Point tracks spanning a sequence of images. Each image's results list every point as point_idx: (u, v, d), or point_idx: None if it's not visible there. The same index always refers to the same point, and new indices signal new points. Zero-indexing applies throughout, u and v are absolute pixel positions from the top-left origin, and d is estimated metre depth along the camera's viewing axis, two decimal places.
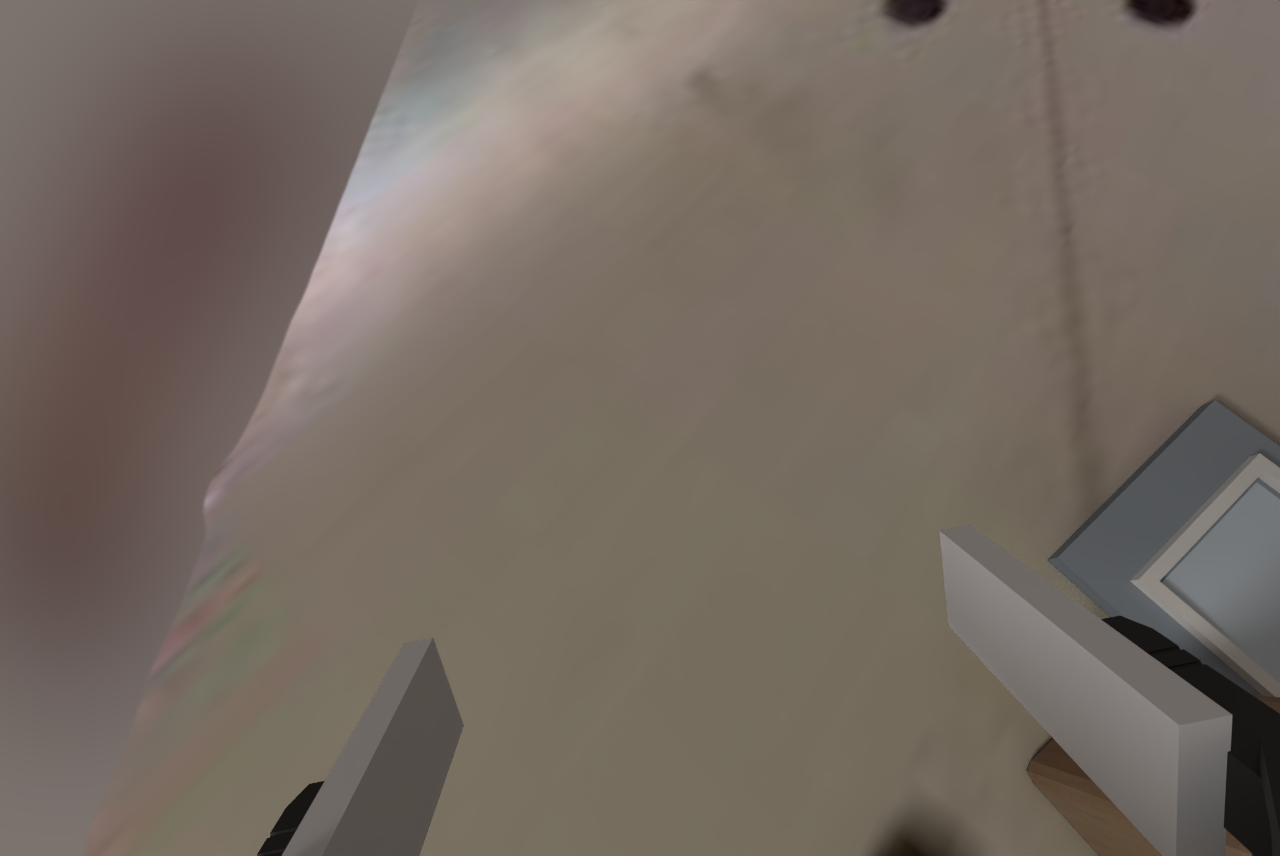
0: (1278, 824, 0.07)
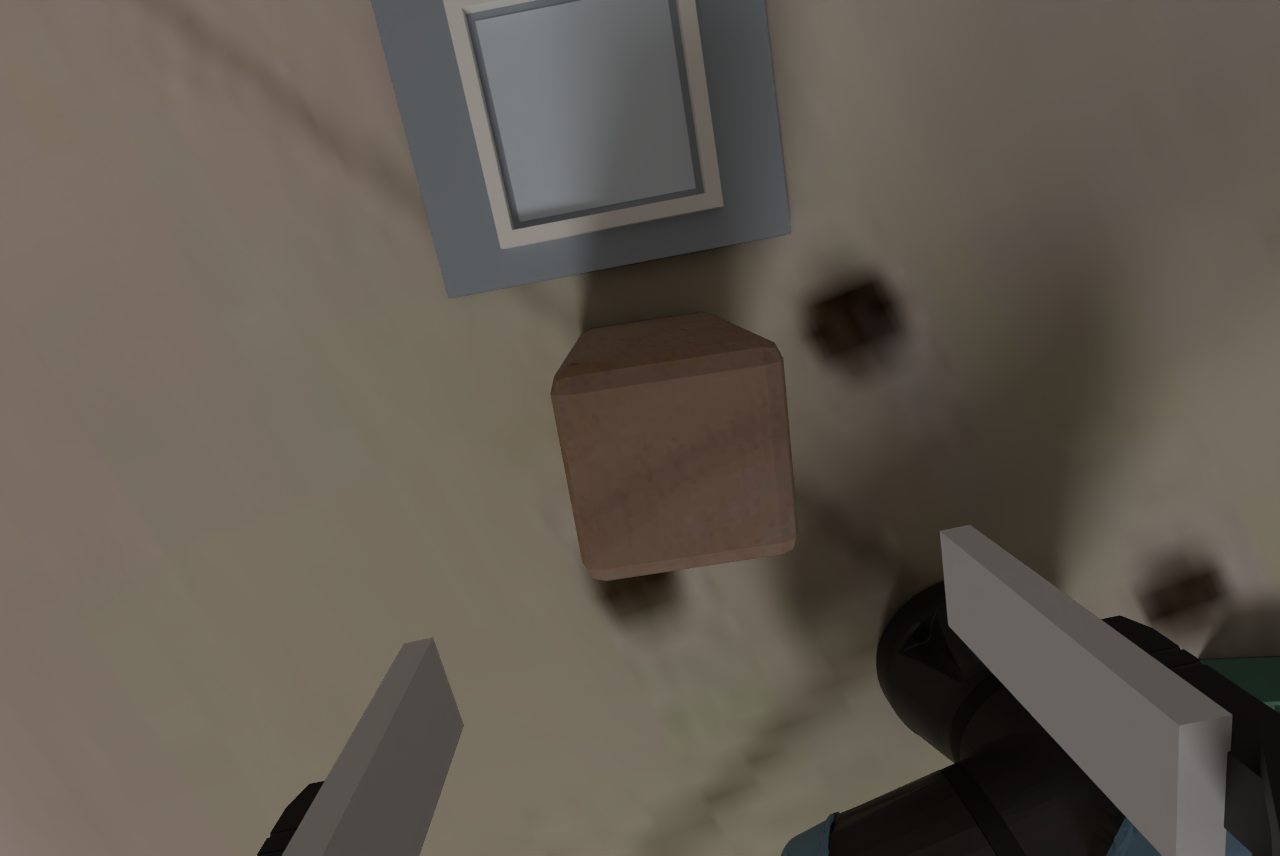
0: (1278, 824, 0.07)
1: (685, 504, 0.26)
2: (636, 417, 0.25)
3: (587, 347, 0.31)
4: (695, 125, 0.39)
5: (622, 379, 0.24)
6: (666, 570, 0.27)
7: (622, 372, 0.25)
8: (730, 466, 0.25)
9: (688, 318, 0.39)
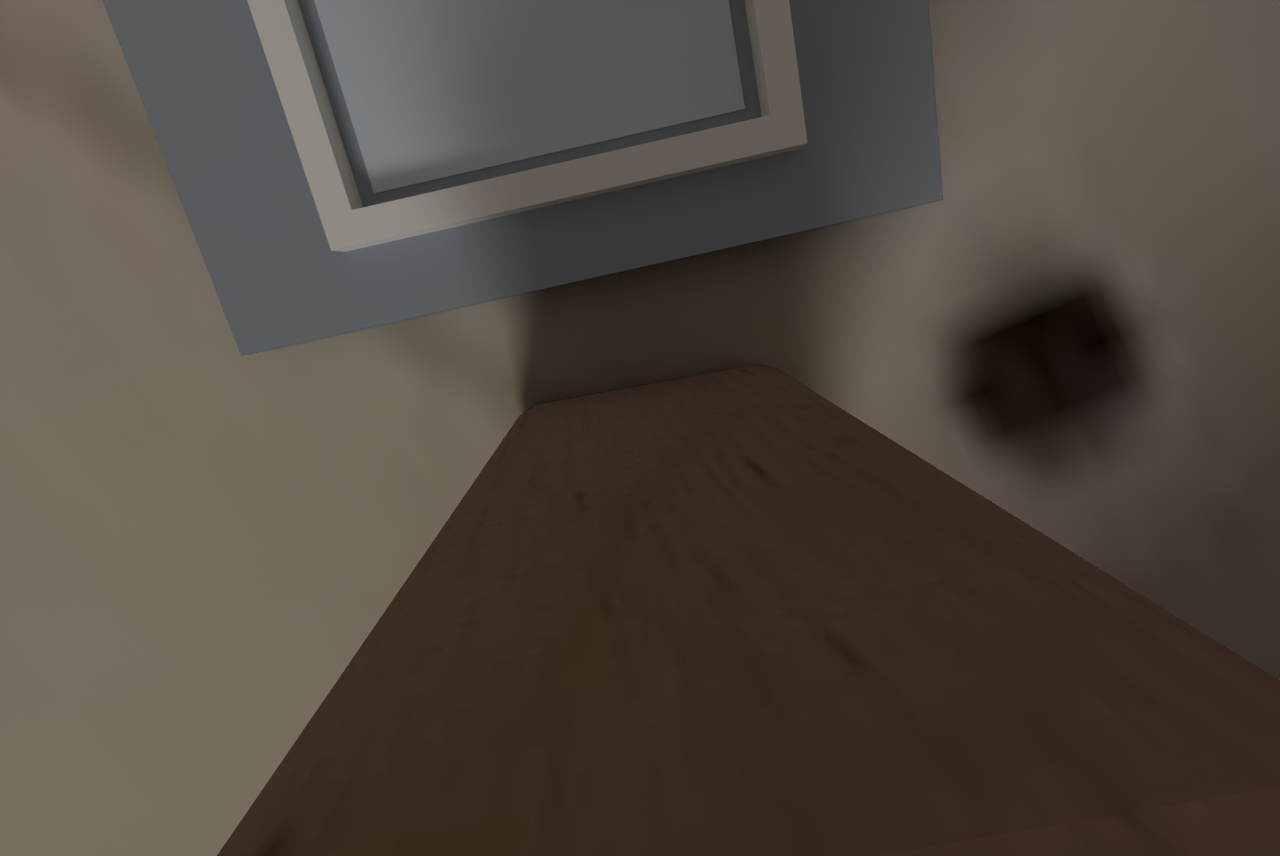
0: None
1: None
2: None
3: (470, 547, 0.10)
4: None
5: None
6: None
7: None
8: None
9: (739, 391, 0.18)
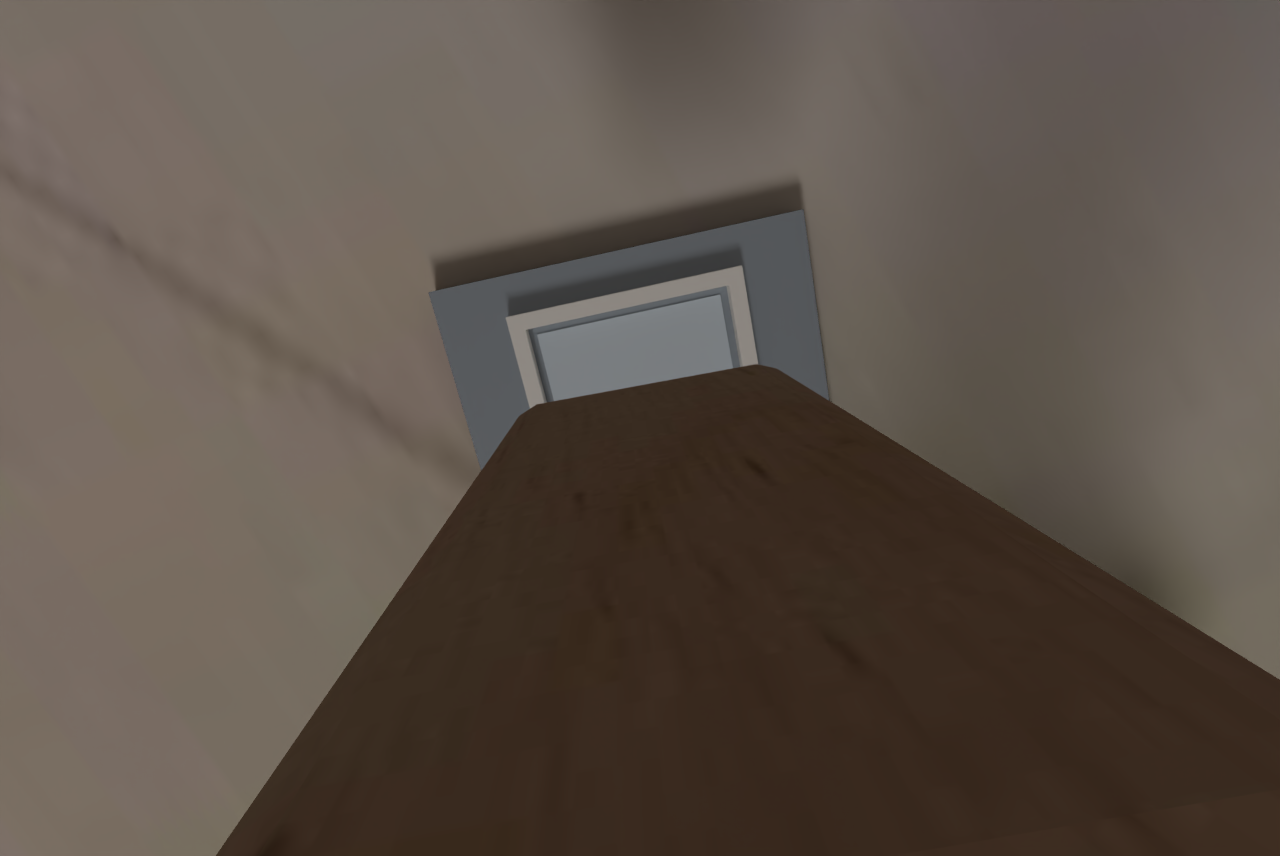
0: None
1: None
2: None
3: (469, 547, 0.10)
4: None
5: None
6: None
7: None
8: None
9: (739, 391, 0.18)
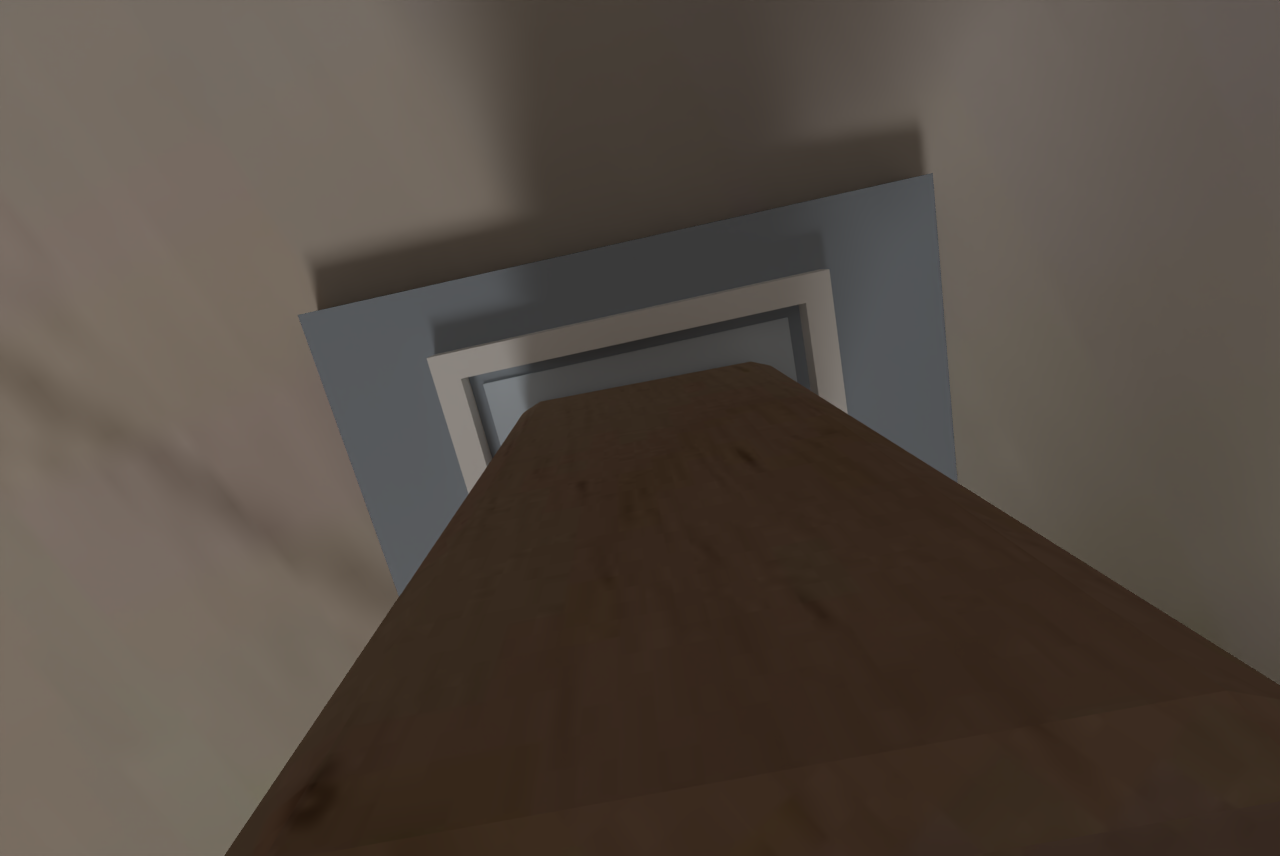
0: None
1: None
2: None
3: (481, 531, 0.11)
4: None
5: None
6: None
7: None
8: None
9: (733, 387, 0.19)
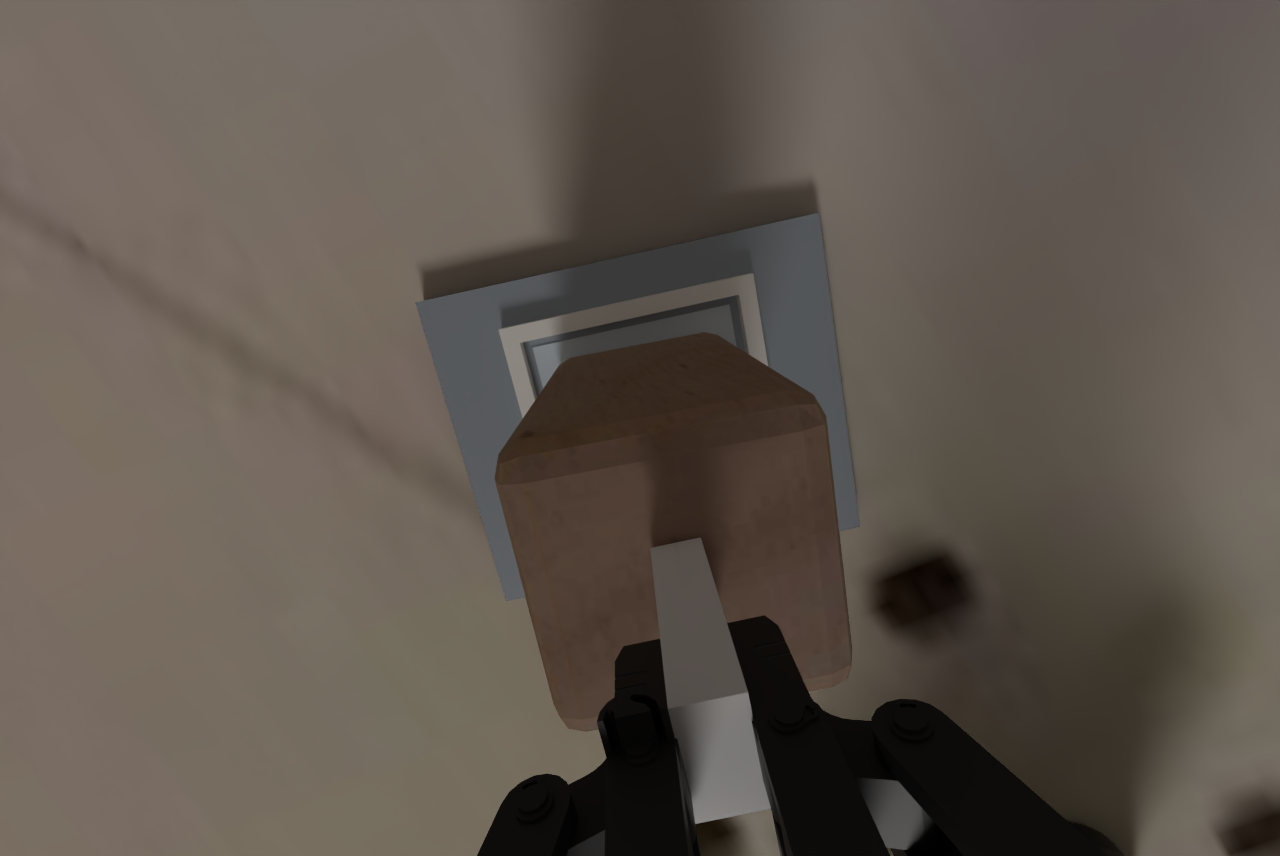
0: (776, 799, 0.09)
1: None
2: (616, 512, 0.17)
3: (556, 395, 0.24)
4: None
5: (594, 459, 0.17)
6: None
7: (594, 449, 0.17)
8: (755, 574, 0.18)
9: (688, 343, 0.31)
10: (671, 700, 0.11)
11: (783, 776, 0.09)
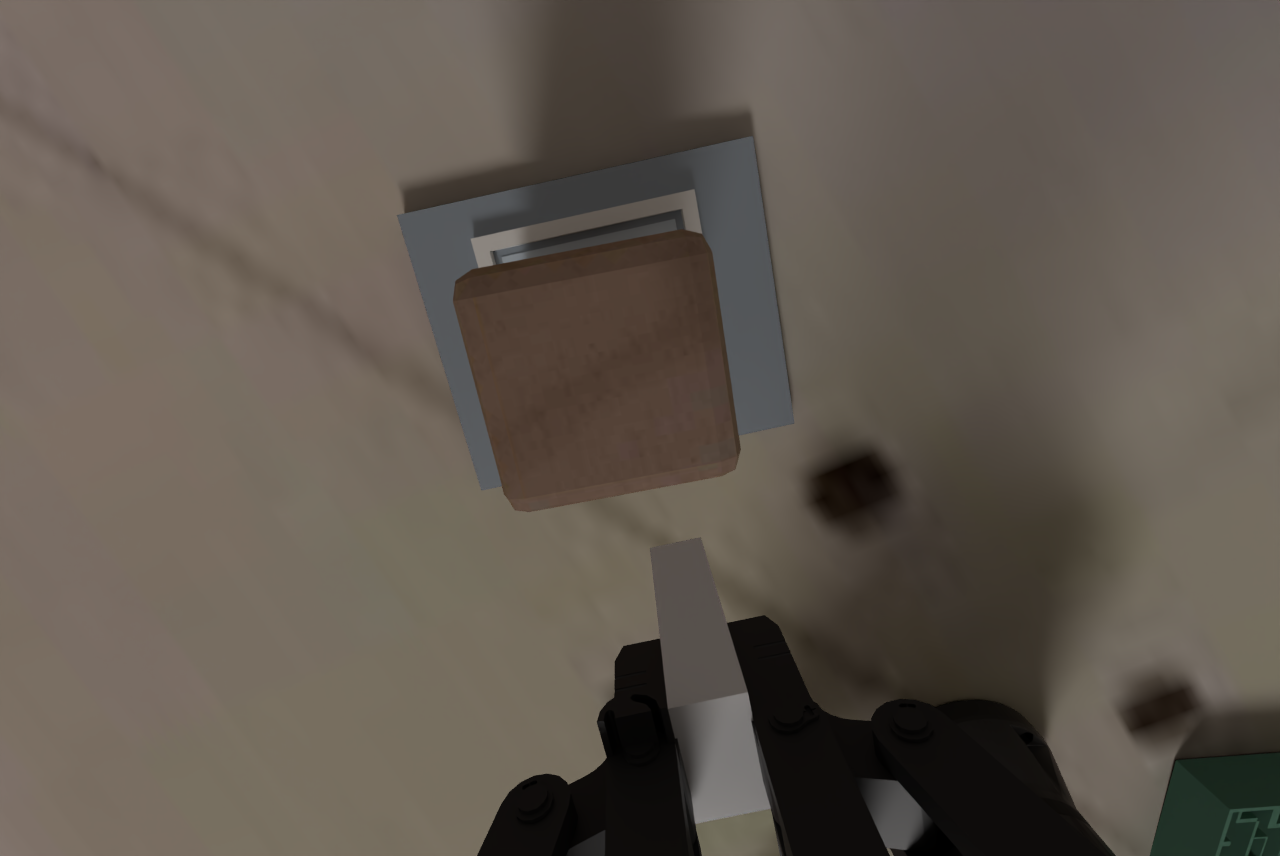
0: (777, 799, 0.09)
1: (610, 421, 0.23)
2: (547, 322, 0.22)
3: None
4: None
5: (529, 278, 0.22)
6: (595, 497, 0.24)
7: (528, 271, 0.22)
8: (657, 375, 0.23)
9: None
10: (671, 699, 0.11)
11: (783, 776, 0.09)
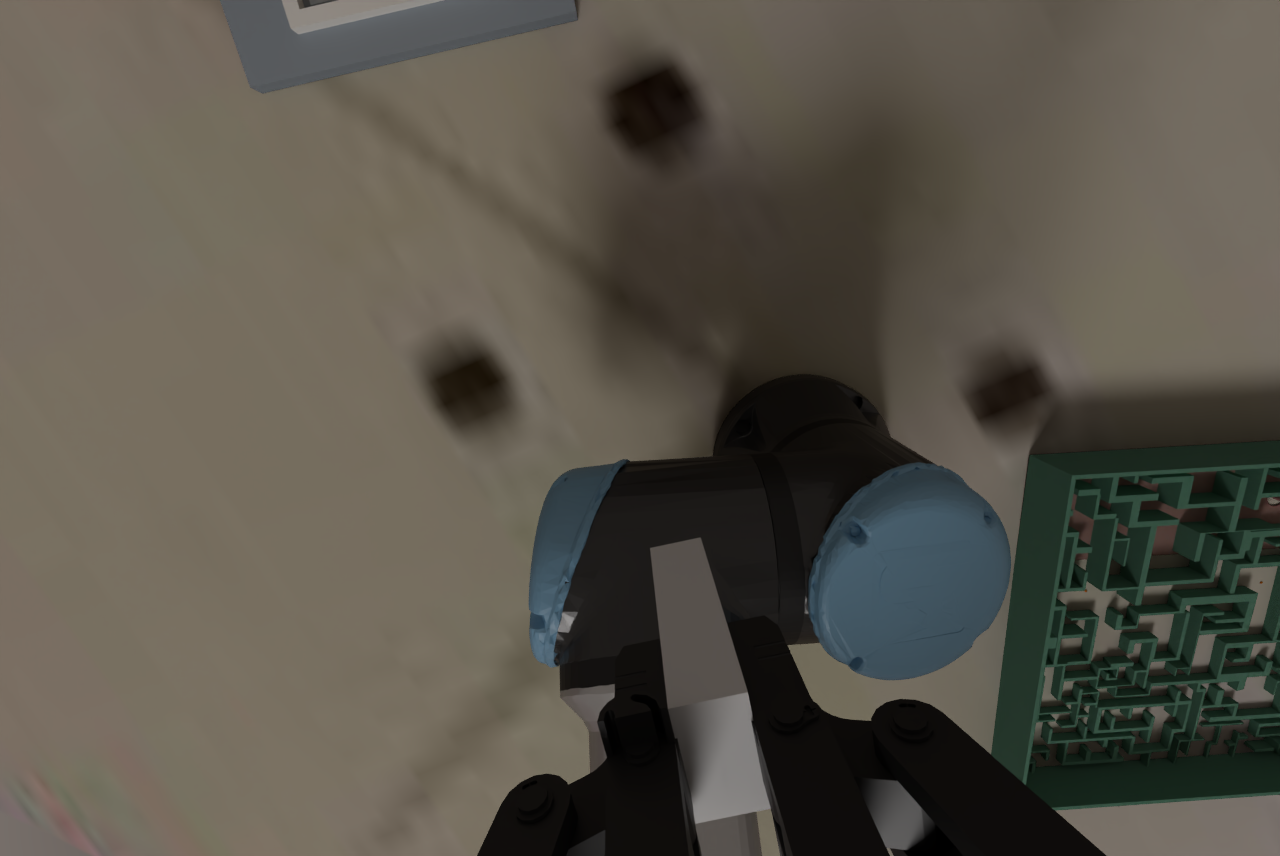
0: (776, 800, 0.09)
1: None
2: None
3: None
4: None
5: None
6: None
7: None
8: None
9: None
10: (671, 700, 0.11)
11: (783, 776, 0.09)
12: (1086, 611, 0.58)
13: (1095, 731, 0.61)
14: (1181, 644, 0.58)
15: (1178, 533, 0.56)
